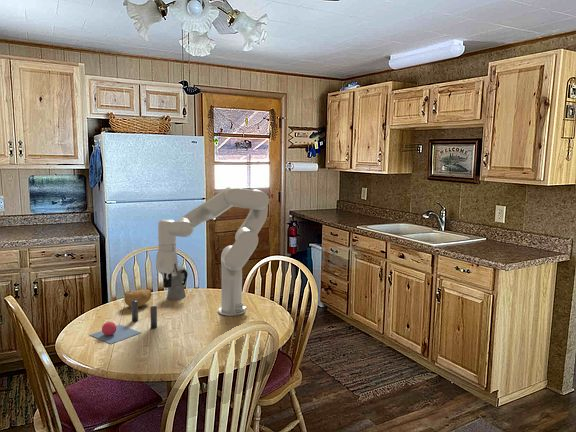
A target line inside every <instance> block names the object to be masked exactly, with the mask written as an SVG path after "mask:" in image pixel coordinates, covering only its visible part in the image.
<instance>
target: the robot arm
mask: <svg viewBox="0 0 576 432" xmlns="http://www.w3.org/2000/svg"><path fill="white" fill-rule="evenodd" d="M269 203H270V198H269V196H268V194H267V193H266V192H264V191H262V190H260V189H247V188H242V187H237V186H235V185H229V186H227V187H225V188H224V189H222V190H221V191H219V192H218V193H217V194H215V195H214V196H212V197H211V198H209V199H208V200H206V201H205V202H203V203H201V204H200V205H198V206H197V207H195V208H193V209H192V210H191V211H189V212H187V213H186V214H184V215H182V216H181V217H180V218H178V220H177V221H176V220H174V219H160V220H159V221H158V224H157V225H158V227H157V228H158V231H157V233H158V235H157V236H158V237H157V239H158V240H157V241H158V246H157V247H158V249H157V251H156V256H155V270H156V271H157V272H158V273H159V274H161V276H162V279H163V288H165V289H168V288H169V287H171V286H172V280H171V278H173V276H176V275H177V274H176V272H177V271H178V266H179V263H178V262H179V260H178V259H179V258H178V254H177V245H176V244H177V241H176V240H177V237H181V238H187V237H190V236H191V235H193V232H194V228H197V227H198V226H199V225H201V224H202V223H204V222H206V221H210V220H213V219H215V218H218V217H219V216H220V215H222V214H223V213H225V212H226V211H228V210H229V209H231V208H232V207H237V208H241V209H248V210H249V212H248V214H247V216H246V218H245V219H244V221H243V222H242V224H241V225H240V227H238V229H237V231H236V232H235V236H234V239H235V241H234V243H233V244H232V245H231V244H229V245H227V246H225V247H224V248H223V250H222V252H221V255H220V263H221V265H220V267H221V296H220V297H221V301H220V302H221V303H220V307H219V308H218V309H217V312H218V313H219V314H220V315H222V316H227V317H234V316H235V317H236V316H241V315H243V314H244V313H246V312H247V310H248V307H246V306H244V302H243V301H242V300H243V294H242V293H243V267H244V266H245V265H246V264H247V262H248V261H249V259H250V257H251V256H252V255H253V253H254V251H255V250H256V249H257V247H258V244H259V236H258V234H259V233H260V232H261V230H262V227H263V226H264V224H265V223H266V220H267V218H268V211H269V208H268V205H269Z"/></svg>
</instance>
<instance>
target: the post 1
mask: <svg viewBox="0 0 576 432" xmlns="http://www.w3.org/2000/svg"><path fill="white" fill-rule="evenodd" d="M131 322H134V323H137V322H139V307H138V300H133V301H132V307H131Z"/></svg>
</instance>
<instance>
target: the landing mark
mask: <svg viewBox="0 0 576 432" xmlns="http://www.w3.org/2000/svg"><path fill="white" fill-rule="evenodd" d="M140 334H142V332H141V331H137V330H135V329H133V328H129V327H127V326H125V325H122V324H118V325H116V332H115V333H114V334H113V335H111V336H106V335H104V334H103V332H102V330H100V331H97V332H95V333H91V334H89V336H91V337H93V338H95V339H97V340H99V341H102V342H105V343H106V344H109V345H112V344H115V343H118V342H121V341H123V340H127V339H129V338H131V337H134V336H137V335H140Z"/></svg>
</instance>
